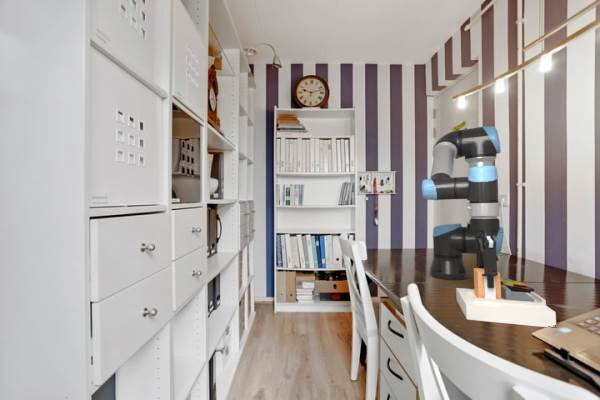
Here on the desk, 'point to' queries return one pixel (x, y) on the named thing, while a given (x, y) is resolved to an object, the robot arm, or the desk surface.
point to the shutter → (514, 295)
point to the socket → (506, 309)
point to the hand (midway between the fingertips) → (487, 295)
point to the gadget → (515, 285)
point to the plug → (480, 283)
